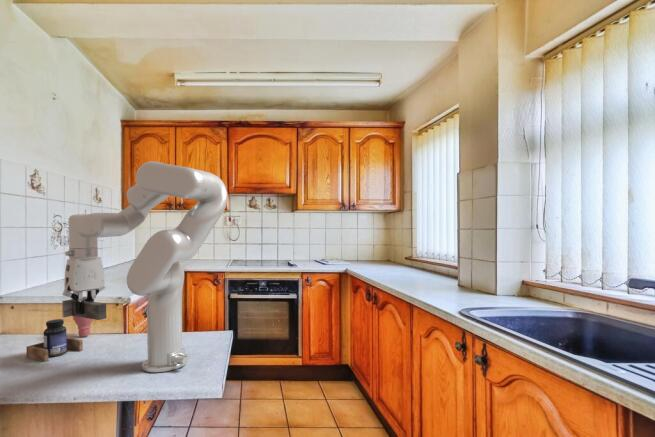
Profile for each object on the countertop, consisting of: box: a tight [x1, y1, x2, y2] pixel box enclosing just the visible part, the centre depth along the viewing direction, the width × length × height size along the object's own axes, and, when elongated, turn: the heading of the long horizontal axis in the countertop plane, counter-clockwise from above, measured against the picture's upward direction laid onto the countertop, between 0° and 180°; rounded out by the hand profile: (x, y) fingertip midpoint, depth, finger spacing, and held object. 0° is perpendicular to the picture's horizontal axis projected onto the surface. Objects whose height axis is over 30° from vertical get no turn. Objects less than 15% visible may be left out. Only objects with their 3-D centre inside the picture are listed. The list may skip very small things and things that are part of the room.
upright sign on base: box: [61, 296, 107, 321], centre depth 118 cm, size 14×7×5 cm, turn 64°
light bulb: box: [72, 316, 94, 338], centre depth 144 cm, size 7×7×12 cm
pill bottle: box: [43, 318, 68, 358], centre depth 125 cm, size 6×6×11 cm
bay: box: [26, 336, 84, 363], centre depth 125 cm, size 10×12×4 cm
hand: (85, 312), depth 119 cm, fingers closed on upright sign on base
